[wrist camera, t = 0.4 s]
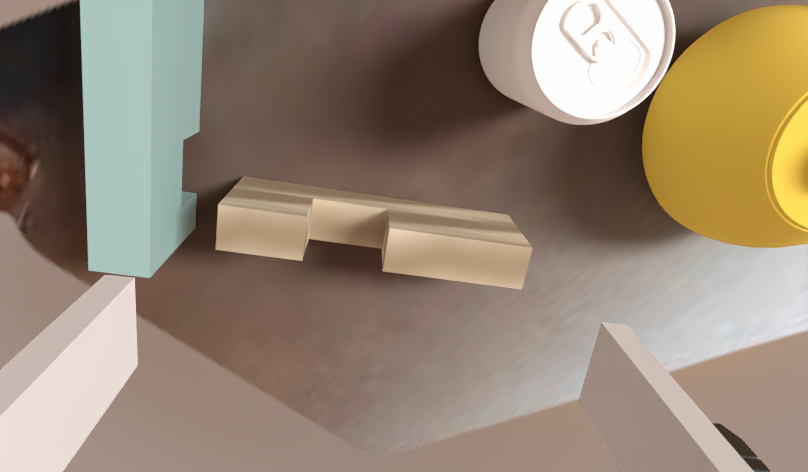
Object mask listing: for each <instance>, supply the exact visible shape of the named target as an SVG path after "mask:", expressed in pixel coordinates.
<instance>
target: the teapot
mask: <svg viewBox="0 0 808 472" xmlns="http://www.w3.org/2000/svg"><path fill="white" fill-rule="evenodd" d="M642 156H643V165H644V169H645V173H646V177H647V180H648V183H649V185H650V188H651V190H652V192H653V194H654V196H655V197H656V199H657V201H658V203H659V204H660V205H661V206H662V207H663V209H664V210H665V211H666V212H667V213H668V214H669V215H670V216H671V217H672V218H673V219H675V220H676V221H677V222H679V223H680V224H682V225H683V226H685V227H686V228H688V229H690V230H692V231H694V232H696V233H698V234H700V235H703V236H705V237H707V238H711V239H714V240H718V241H721V242H725V243H729V244H734V245H739V246H747V247H760V248H779V247H787V246H795V245H802V244H808V6H807V5H773V6H765V7H760V8H756V9H753V10H749V11H746V12H743V13H741V14H738V15H736V16H733V17H731V18H729V19H727V20H726V21H724V22H722V23H720V24H718V25H717V26H715V27H714V28H712V29H711V30H709V31H708V32H707V33H705V34H704V35H702V36H701V37H700V38H698V39H697V40H696V41H695V42H694V43H693V44H692V45H690V46H689V47H688V48H687V49H686V50H685V51H684V52H683V53H682V55H681V56H680V57H679V58H678V59H677V60H676V61H675V62H674V64H673V65H672V67H671V68H670V69H669V71H668V72H667V73H666V75H665V76H664V78H663V80H662V82H661V83H660V85H659V87H658V89H657V90H656V92H655V95H654V97H653V99H652V102H651V104H650V106H649V110H648V113H647V116H646V120H645V124H644V130H643V137H642Z"/></svg>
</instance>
